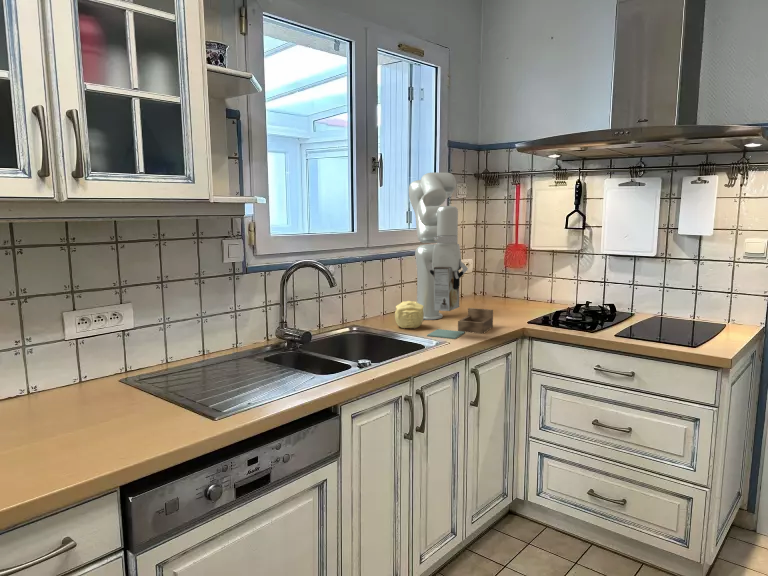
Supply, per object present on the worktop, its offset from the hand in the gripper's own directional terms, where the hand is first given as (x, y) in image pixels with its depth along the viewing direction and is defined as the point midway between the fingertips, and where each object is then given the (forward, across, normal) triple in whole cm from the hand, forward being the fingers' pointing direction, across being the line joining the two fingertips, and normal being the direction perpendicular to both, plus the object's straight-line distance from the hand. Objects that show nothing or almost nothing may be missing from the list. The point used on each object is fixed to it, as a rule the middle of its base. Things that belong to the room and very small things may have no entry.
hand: (446, 288), depth 208 cm
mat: (+18, 0, 0) cm, 18 cm away
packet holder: (+18, +7, +14) cm, 24 cm away
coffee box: (+8, 0, 0) cm, 8 cm away
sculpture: (+18, -18, +6) cm, 26 cm away
